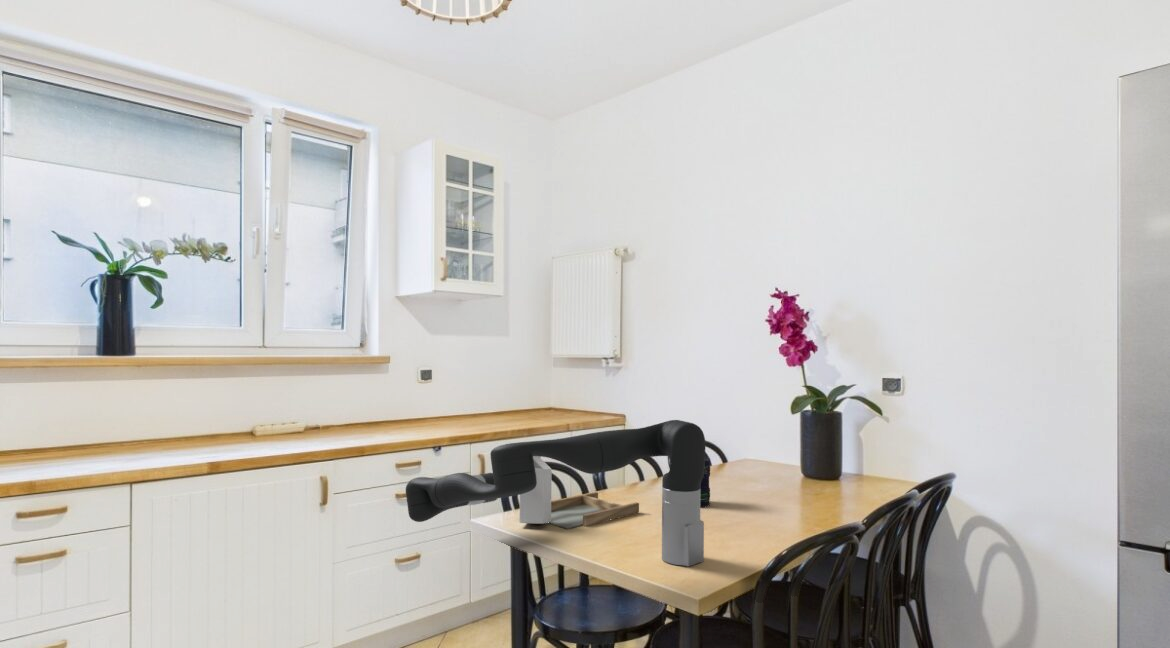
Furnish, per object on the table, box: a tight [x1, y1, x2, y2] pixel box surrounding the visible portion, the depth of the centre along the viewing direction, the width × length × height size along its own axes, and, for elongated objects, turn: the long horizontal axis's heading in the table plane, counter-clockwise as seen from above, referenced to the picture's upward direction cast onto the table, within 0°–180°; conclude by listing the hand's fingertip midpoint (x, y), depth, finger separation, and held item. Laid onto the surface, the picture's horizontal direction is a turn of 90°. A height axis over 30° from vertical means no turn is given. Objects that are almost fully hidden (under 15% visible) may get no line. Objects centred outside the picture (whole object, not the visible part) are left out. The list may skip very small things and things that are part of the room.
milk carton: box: [518, 456, 553, 525], centre depth 178 cm, size 7×7×19 cm
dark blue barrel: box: [700, 456, 711, 508], centre depth 204 cm, size 10×10×15 cm
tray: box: [548, 491, 640, 530], centre depth 189 cm, size 19×29×3 cm
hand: (530, 480), depth 175 cm, fingers closed
